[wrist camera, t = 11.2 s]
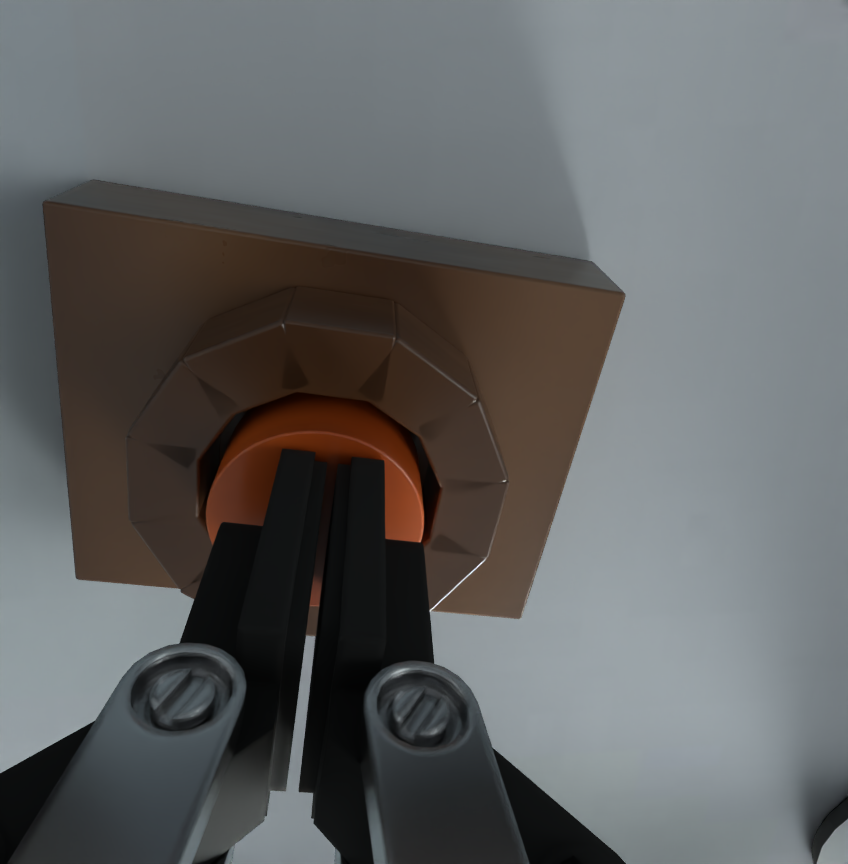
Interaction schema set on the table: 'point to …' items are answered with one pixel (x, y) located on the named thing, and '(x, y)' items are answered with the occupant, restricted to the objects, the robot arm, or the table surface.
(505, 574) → the button block
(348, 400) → the button
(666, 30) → the table surface
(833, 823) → the mug
